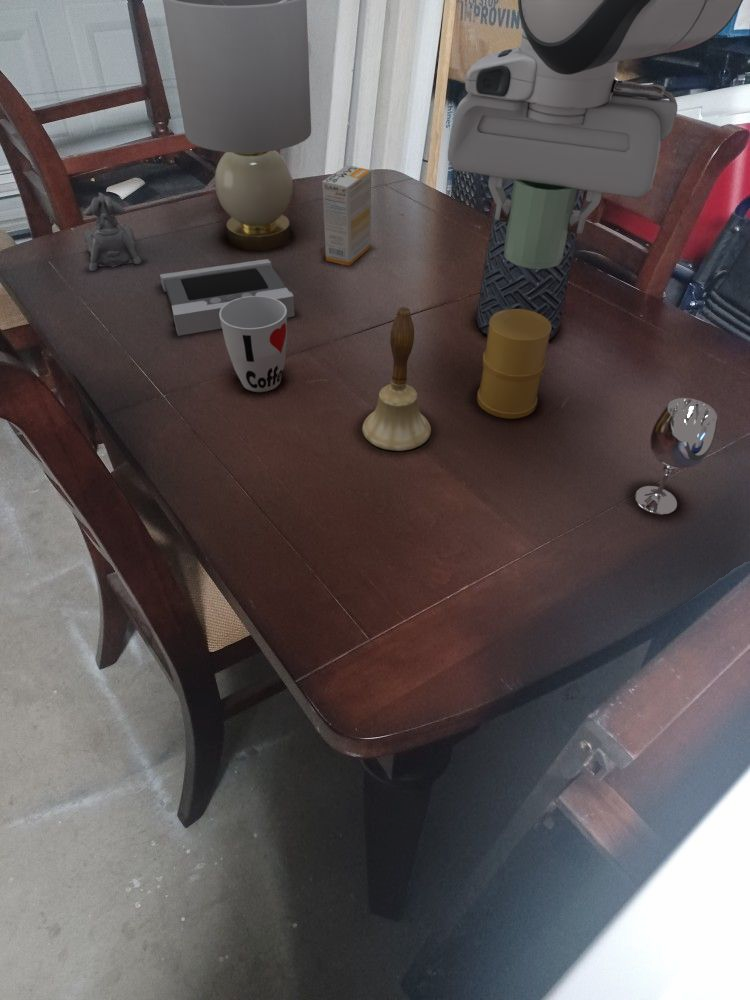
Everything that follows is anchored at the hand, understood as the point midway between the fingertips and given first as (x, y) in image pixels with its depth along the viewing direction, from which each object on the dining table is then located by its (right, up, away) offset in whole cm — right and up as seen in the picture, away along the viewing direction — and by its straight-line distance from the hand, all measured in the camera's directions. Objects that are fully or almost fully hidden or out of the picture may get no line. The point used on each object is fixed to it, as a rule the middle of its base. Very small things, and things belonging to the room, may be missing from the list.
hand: (538, 225), depth 73 cm
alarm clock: (-40, +2, +33) cm, 52 cm away
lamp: (-38, +17, +50) cm, 65 cm away
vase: (+4, -3, +29) cm, 30 cm away
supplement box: (-22, +13, +46) cm, 52 cm away
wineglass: (+14, -29, +3) cm, 32 cm away
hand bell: (-15, -21, +11) cm, 28 cm away
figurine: (-61, +12, +44) cm, 76 cm away
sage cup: (0, -2, +2) cm, 3 cm away
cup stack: (0, -16, +16) cm, 23 cm away
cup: (-32, -13, +18) cm, 39 cm away
